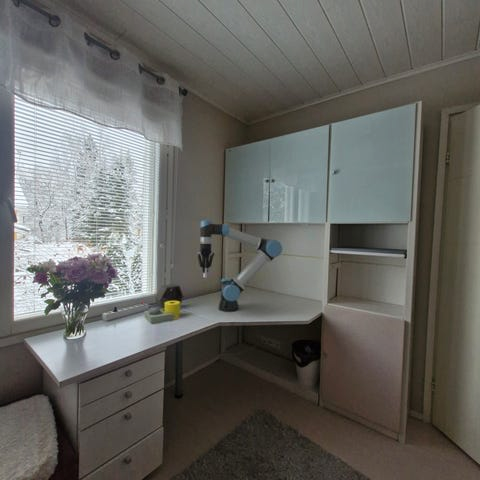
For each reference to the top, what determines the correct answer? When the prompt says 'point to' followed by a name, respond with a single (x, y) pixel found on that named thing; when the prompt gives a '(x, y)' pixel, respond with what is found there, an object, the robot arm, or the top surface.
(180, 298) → the planter
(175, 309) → the yellow cylinder with hole
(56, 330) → the top surface
